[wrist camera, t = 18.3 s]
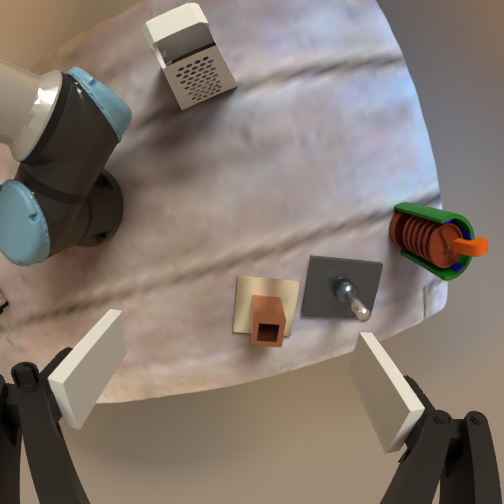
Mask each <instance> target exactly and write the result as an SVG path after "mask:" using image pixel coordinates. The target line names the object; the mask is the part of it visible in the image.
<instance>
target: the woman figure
mask: <svg viewBox="0 0 504 504" xmlns="http://www.w3.org/2000/svg"><path fill="white" fill-rule="evenodd" d="M0 297H1V299H2V305H1V306H0V314H1V313H2V312H3V309H4V308H5V307H6V306H8V305H9V303H8V301H6V299H5V298H4V297H3V295H2V293H1V291H0Z"/></svg>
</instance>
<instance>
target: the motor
mask: <svg viewBox="0 0 504 504" xmlns="http://www.w3.org/2000/svg"><path fill="white" fill-rule="evenodd" d="M395 209H396V210H398V212H397V213H396V214H395V215H394V216H393V218H392V220H391V222H390V226H389V234H390V238H391V240H392V241H393V243H394V244H395V245H397V246H398V247H400V248H402V249H404V250H406V251H401V254H402V255H403V256H405V257H407V258H408V259H410V260H412V261H413V262H415V263H417V264H418V265H420V266H422V267H423V268H425V269H427V270H428V271H430V272H431V273H433V274H435V275H436V276H438V277H439V278H441V279H443V280H444V281H448V280H452V279H455V278H456V277H458V276H459V275H461V274H462V273H463V272H464V271H465V269H466V268H467V266H468V265H469V263H470V261H471V259H472V256H473V257H478V256H481V255H483V254H485V253H486V252H488V240H487V239H485V238H482V237H477V238H476V239H475V237H474V232H473V228H472V226H471V224H470V222H469V221H468V220H467V219H466V218H465V217H464V216H462V215H459V214H455V213H451V212H447V211H443V210H439V209H435V208H431V207H427V206H422V205H418V204H414V203H409V202H404V203H400V204H398V205H396V206H395Z"/></svg>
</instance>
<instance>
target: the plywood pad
mask: <svg viewBox="0 0 504 504" xmlns="http://www.w3.org/2000/svg"><path fill="white" fill-rule="evenodd" d="M298 289H299V281H291V280H279V279H268V278H257V277H246V276H238V282H237V293H236V304H235V315H234V326H233V332H241V333H250V315H251V306H252V297H253V295H260V296H271V297H280V298H281V302H282V306H283V309H284V313H285V317H286V324H285V330H284V336H290V335H291V329H292V324H293V318H294V313H295V307H296V301H297V295H298Z"/></svg>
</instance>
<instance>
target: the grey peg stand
mask: <svg viewBox="0 0 504 504" xmlns="http://www.w3.org/2000/svg"><path fill="white" fill-rule="evenodd" d="M382 267H383V264H382V263H380V262H373V261H363V260H352V259H342V258H332V257H322V256H312V255H311V257H310V263H309V270H308V276H307V282H306V288H305V294H304V299H303V305H302V310H301V312H302V314H303V315H316V316H336V317H358V318H359V320H360V321H362V322H365V321H367V320H368V319H369V318H370V317H371V313H372V309H373V305H374V301H375V297H376V293H377V289H378V285H379V280H380V276H381V271H382Z"/></svg>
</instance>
